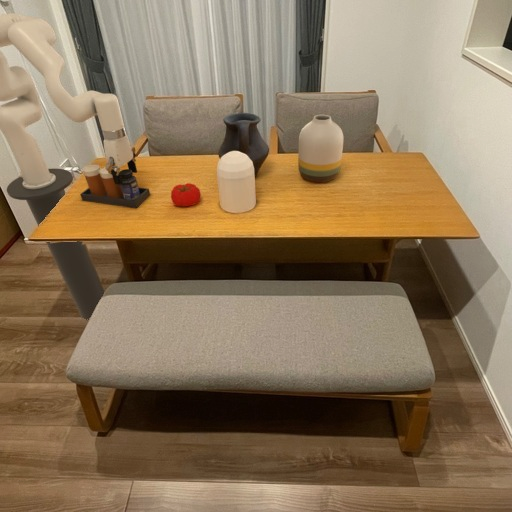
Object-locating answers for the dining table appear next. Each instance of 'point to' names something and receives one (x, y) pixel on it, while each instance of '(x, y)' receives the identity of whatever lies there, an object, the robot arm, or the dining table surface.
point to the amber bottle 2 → (110, 184)
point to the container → (236, 182)
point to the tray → (115, 201)
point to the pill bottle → (129, 185)
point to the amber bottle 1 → (94, 180)
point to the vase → (320, 149)
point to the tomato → (185, 195)
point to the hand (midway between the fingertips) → (126, 178)
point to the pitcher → (244, 138)
